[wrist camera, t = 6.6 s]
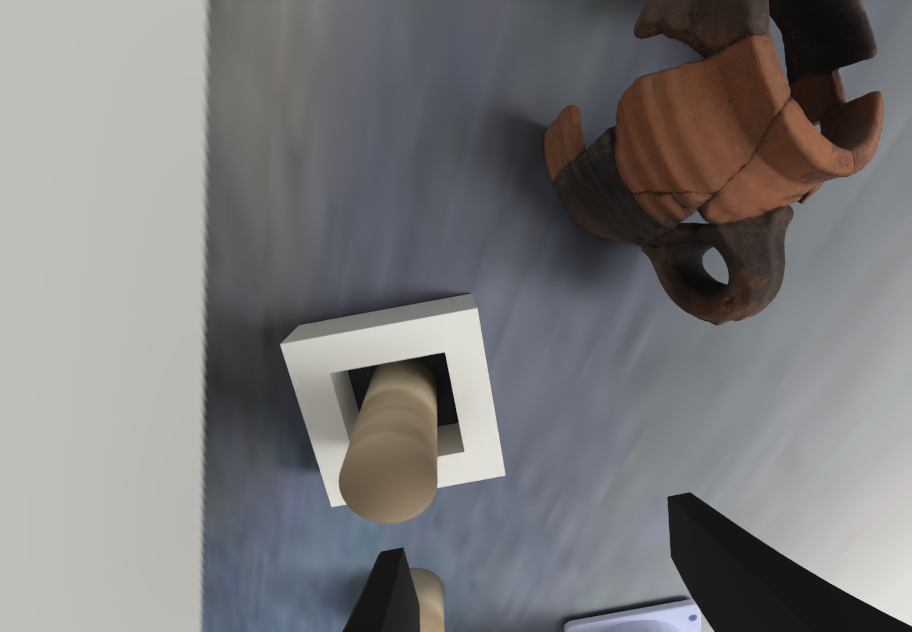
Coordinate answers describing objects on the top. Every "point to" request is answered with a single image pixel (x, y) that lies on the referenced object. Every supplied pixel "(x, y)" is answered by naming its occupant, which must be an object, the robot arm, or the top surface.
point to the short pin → (429, 599)
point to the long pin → (393, 445)
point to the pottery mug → (723, 144)
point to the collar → (387, 340)
